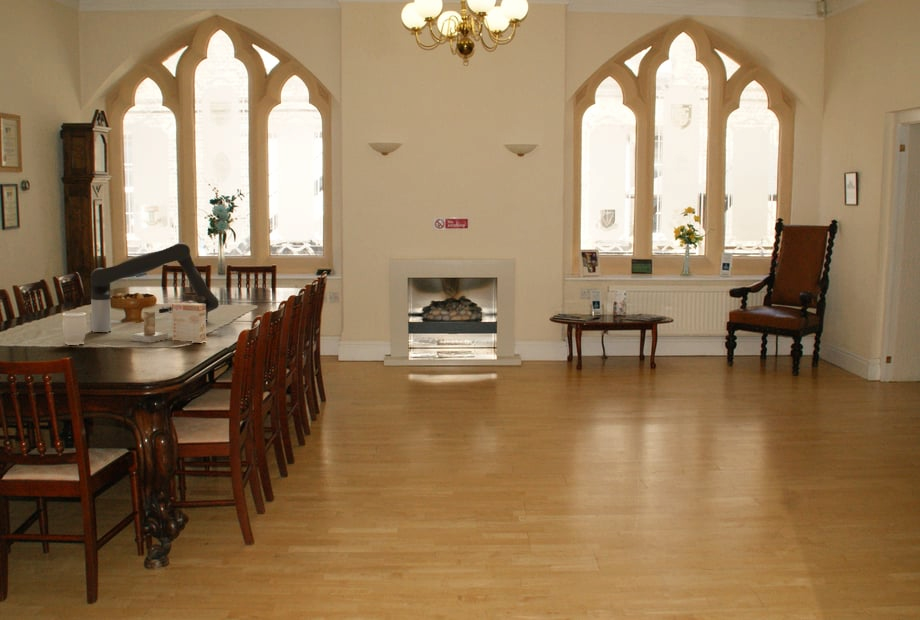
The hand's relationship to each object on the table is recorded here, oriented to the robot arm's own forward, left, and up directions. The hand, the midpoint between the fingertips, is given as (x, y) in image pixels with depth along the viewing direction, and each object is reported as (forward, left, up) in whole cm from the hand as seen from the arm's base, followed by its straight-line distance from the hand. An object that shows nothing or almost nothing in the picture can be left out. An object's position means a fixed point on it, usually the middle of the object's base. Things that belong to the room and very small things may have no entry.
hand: (166, 311), depth 447 cm
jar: (-23, -36, -14) cm, 45 cm away
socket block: (0, -11, -14) cm, 18 cm away
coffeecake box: (+16, -1, -14) cm, 21 cm away
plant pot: (-28, +56, -14) cm, 64 cm away
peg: (0, -11, -13) cm, 17 cm away
